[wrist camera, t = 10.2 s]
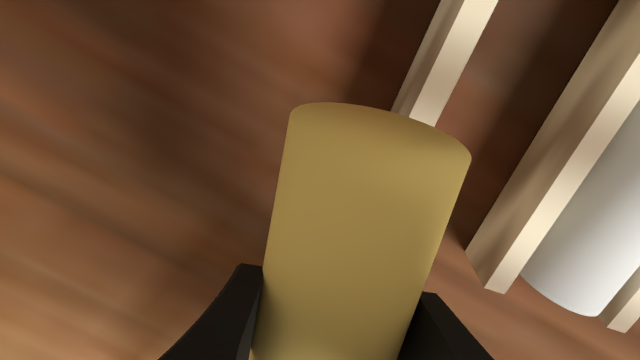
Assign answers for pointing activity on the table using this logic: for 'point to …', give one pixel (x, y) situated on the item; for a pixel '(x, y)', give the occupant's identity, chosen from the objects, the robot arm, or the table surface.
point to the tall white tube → (595, 231)
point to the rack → (536, 137)
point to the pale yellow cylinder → (353, 232)
